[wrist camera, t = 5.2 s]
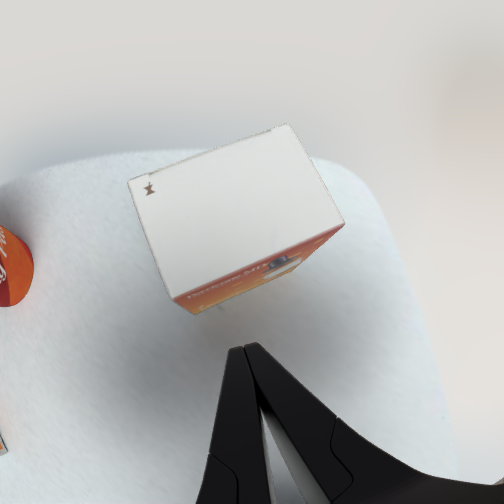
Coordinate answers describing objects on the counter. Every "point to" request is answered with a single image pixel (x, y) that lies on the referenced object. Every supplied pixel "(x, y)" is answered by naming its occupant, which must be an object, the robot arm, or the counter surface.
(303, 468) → the robot arm
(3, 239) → the coffee cup
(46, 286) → the counter surface
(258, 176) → the small box
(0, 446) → the skincare box
